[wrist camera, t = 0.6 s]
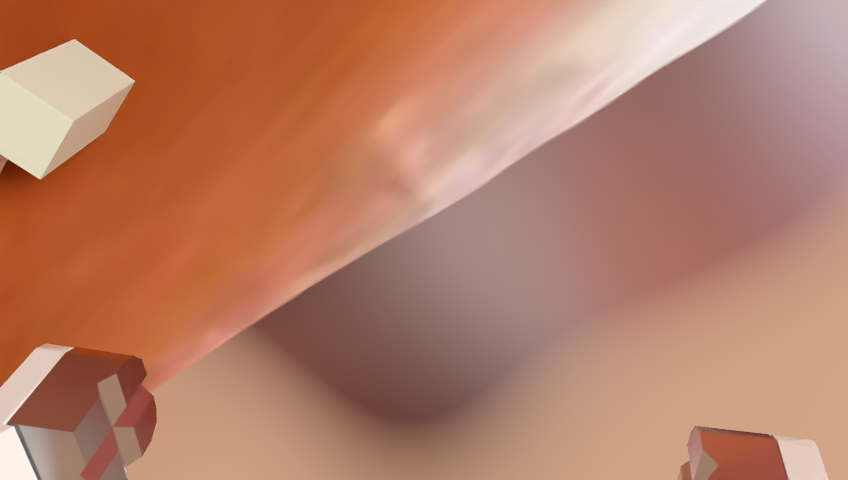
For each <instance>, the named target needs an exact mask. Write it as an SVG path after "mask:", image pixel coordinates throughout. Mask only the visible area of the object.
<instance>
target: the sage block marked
mask: <svg viewBox="0 0 848 480" xmlns="http://www.w3.org/2000/svg"><path fill="white" fill-rule="evenodd" d="M134 82H135V81H134V80H133V79H131V78H130V77H129V76H127V75H126V74H124V73H123V72H121V71H120V70H118V69H117V68H116V67H114V66H113V65H111V64H110V63H108V62H107V61H105V60H104V59H102V58H101V57H100V56H98V55H97V54H95V53H94V52H92V51H91V50H89V49H88V48H87V47H85V46H84V45H82V44H81V43H79V42H78V41H76V40H75V39H73V40H71V41H69V42H67V43H64V44H62V45H60V46H57V47H55V48H53V49H51V50H48V51H46V52H44V53H41V54H39V55H37V56H34V57H32V58H30V59H28V60H25V61H23V62H21V63H18V64H16V65H14V66H12V67H9V68H7V69H5V70H2V71H0V154H1V155H2V156H4V157H5V158H7V159H9V160H10V161H12V162H13V163H15V164H16V165H18V166H20V167H21V168H23V169H24V170H26V171H27V172H29V173H31V174H32V175H34V176H35V177H37V178H38V179H42V178H43V177H44V176H46V175H47V174H48V173H50V172H51V171H52V170H54V169H55V168H56V167H58V166H59V165H61V164H62V163H63V162H65V161H66V160H67V159H69V158H70V157H71V156H73V155H74V154H75V153H77V152H78V151H80V150H81V149H82V148H84V147H85V146H86V145H88V144H89V143H90V142H92V141H93V140H94V139H96V138H97V137H99V136H100V135H101V134H103V133H104V132H105V131H106V129H107V127H108V126H109V124H110V122H111V121H112V119H113V117H114V116H115V114H116V112H117V111H118V109H119V107H120V106H121V104H122V102H123V101H124V99H125V97H126V96H127V94H128V92H129V91H130V89H131V87H132V86H133V84H134Z"/></svg>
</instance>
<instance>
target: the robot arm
mask: <svg viewBox="0 0 848 480" xmlns="http://www.w3.org/2000/svg"><path fill="white" fill-rule="evenodd" d="M146 376H147V372H146V369H145V366H144V363H143V361H142V359H141V358H138V357H135V356H130V355H124V354H117V353H111V352H104V351H97V350H91V349H84V348H78V347H75V348H74V347H68V346H61V345H54V344H48V343H46V344H44V345H42V346H40V347H37V348H36V349H35V350H34V351H33V352H32V353H31V354H30V355H29V356H28V357H27V359H26V360H25V361H24V362H23V363H22V364H21V365H20V366H19V368H18V369H17V370H16V371H15V372H14V373H13V374H12V375H11V376H10V378H9V379H8V380H7V381H6V382H5V383H4V384H3V385H2V387H1V388H0V480H128V479H127V472H126V466H127V465H129V464H131V463H132V462H134V461H135V460H137V459H138V458H140V457H142V456H143V454H144V452H145V451H146V449H147V447H148V445H149V444H150V442H151V439H152V436H153V433H154V429H155V426H156V419H157V417H156V404H155V401H154V396H153V395H152V394H151V393H150V392H149V391H148V390H147V389H146V388H145V387H144V386H143V385H142V382H143V381H144V379H145V378H146ZM687 447H688V454H689V461H688V462H687V463H685V464H684V465H682V466H681V468H680V473H679V476H678V480H828V477H827V474H826V471H825V468H824V465H823V462H822V459H821V456H820V453H819V450H818V447H817V445H816V444H815V443H814V442H813V441H812V440H811V439H803V438H795V437H787V436H778V435H771V436H770V435H768V434H762V433H752V432H744V431H736V430H735V431H734V430H726V429H718V428H709V427H701V426H695V427H694V428H693V430H692V431H691V434H690V437H689V440H688V444H687Z"/></svg>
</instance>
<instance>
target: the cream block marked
mask: <svg viewBox="0 0 848 480" xmlns="http://www.w3.org/2000/svg"><path fill="white" fill-rule="evenodd" d="M7 160H8V159H7V158H5V157H4V156H2V155H1V154H0V173H1V171H2V169H3V167H4V165H5V164H6V162H7Z"/></svg>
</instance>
